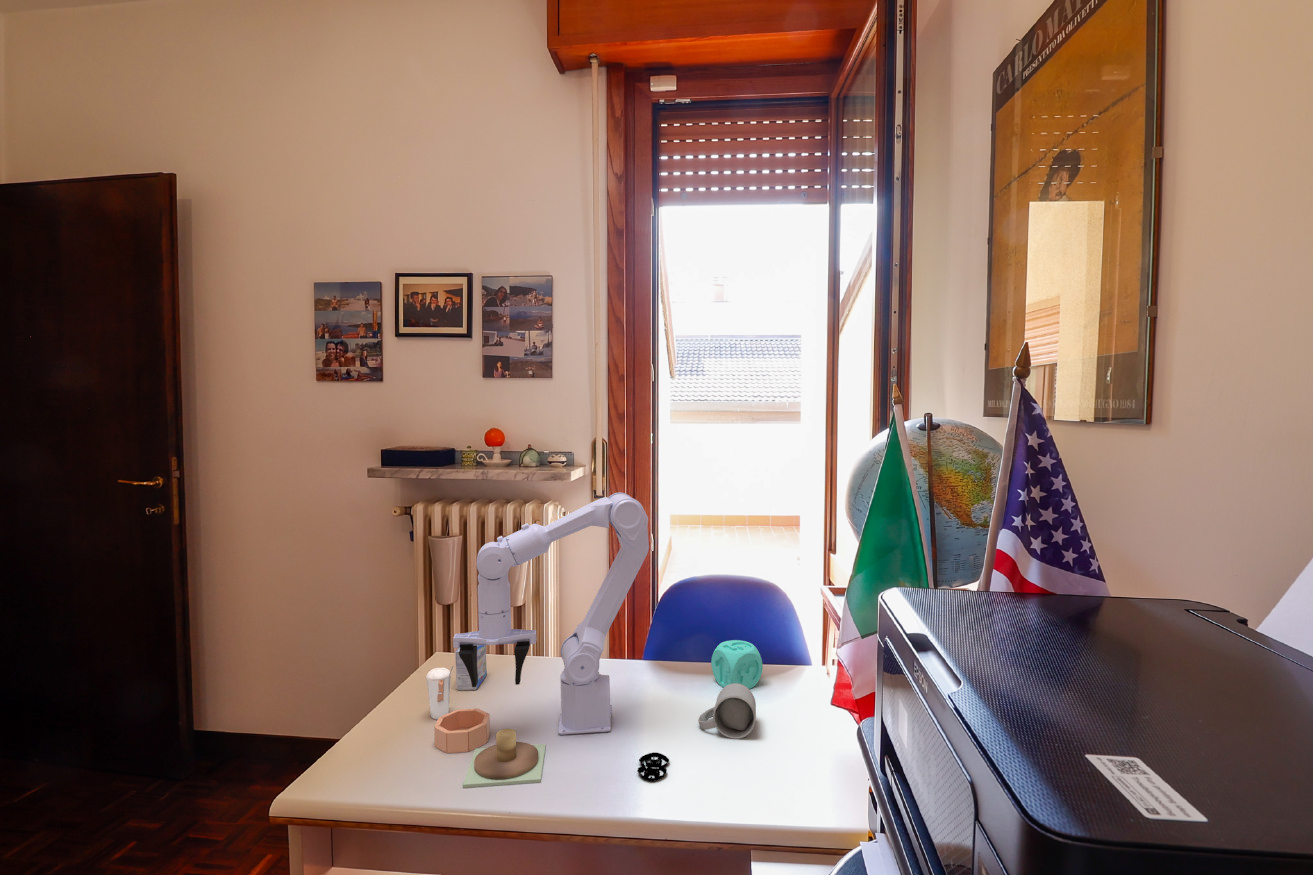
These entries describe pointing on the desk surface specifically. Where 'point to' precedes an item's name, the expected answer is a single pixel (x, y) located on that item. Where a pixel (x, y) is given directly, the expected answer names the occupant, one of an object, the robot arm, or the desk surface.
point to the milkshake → (439, 691)
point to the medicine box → (462, 673)
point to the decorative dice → (736, 663)
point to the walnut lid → (506, 757)
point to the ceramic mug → (731, 712)
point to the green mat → (529, 777)
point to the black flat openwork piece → (653, 766)
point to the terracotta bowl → (462, 730)
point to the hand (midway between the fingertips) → (496, 683)
